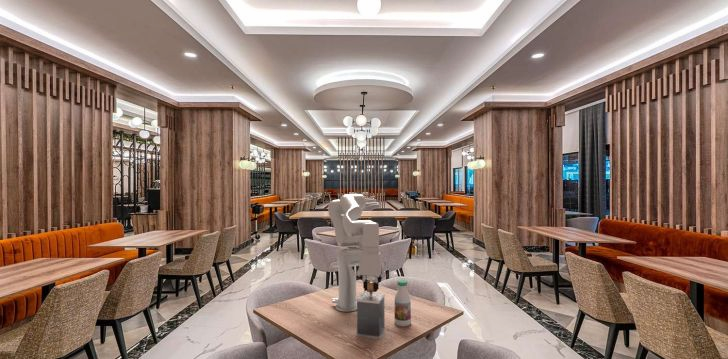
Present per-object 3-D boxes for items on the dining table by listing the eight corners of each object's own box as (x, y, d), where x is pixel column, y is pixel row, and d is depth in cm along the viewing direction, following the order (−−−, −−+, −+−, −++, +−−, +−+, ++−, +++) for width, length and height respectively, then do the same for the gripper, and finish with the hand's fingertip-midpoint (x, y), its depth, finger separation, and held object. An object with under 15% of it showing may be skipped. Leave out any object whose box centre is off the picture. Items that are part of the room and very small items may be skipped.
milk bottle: (393, 320, 152) (392, 279, 153) (408, 319, 153) (408, 278, 153) (396, 327, 144) (395, 283, 145) (412, 326, 145) (412, 283, 145)
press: (356, 336, 136) (356, 299, 136) (365, 323, 148) (364, 289, 149) (379, 339, 133) (379, 301, 133) (386, 326, 145) (386, 291, 146)
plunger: (359, 329, 137) (359, 283, 137) (365, 321, 145) (364, 278, 145) (377, 332, 134) (377, 285, 135) (382, 324, 142) (381, 280, 143)
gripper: (350, 250, 139) (350, 291, 139) (387, 252, 135) (387, 295, 134) (355, 247, 147) (355, 286, 146) (390, 249, 142) (390, 289, 141)
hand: (370, 290), depth 140 cm, fingers closed on plunger, 4 cm apart
